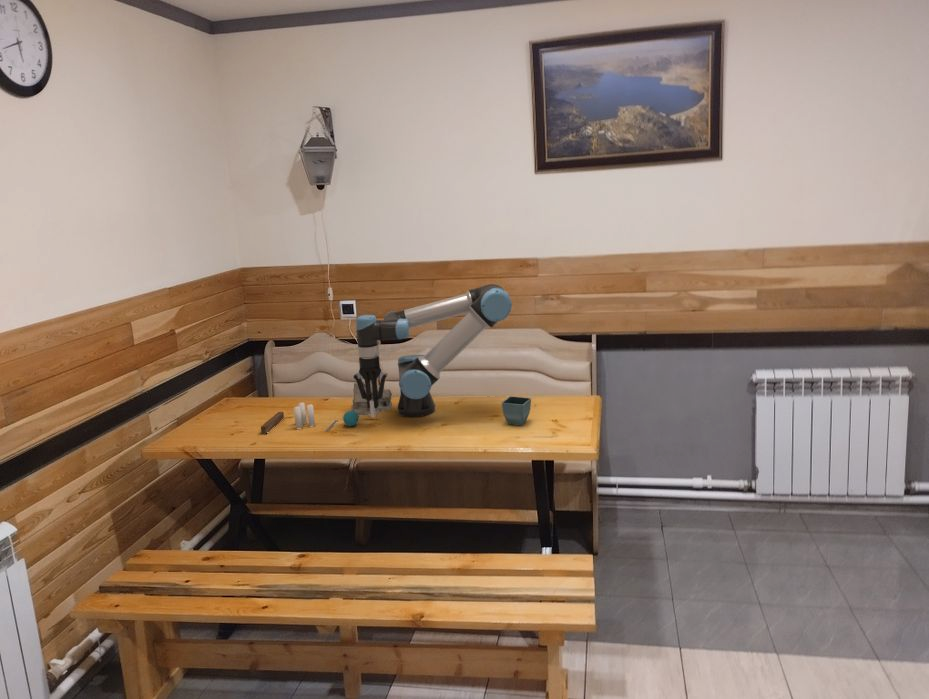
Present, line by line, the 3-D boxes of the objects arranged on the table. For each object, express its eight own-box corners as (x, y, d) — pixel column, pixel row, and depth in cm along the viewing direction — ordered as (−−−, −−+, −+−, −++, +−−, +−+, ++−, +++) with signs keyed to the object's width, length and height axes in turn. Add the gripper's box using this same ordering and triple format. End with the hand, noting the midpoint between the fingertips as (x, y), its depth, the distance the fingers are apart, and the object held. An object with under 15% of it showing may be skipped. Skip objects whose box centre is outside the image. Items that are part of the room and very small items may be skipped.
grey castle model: (345, 415, 313) (345, 379, 310) (361, 404, 329) (361, 369, 326) (382, 418, 309) (381, 382, 306) (396, 407, 325) (396, 372, 321)
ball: (361, 423, 302) (359, 408, 301) (356, 428, 297) (355, 413, 295) (346, 423, 303) (345, 408, 302) (341, 428, 298) (340, 413, 296)
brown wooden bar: (284, 418, 314) (283, 411, 313) (266, 434, 296) (265, 426, 296) (279, 418, 314) (278, 411, 313) (261, 434, 297) (260, 426, 296)
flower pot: (532, 420, 294) (531, 397, 291) (524, 428, 286) (523, 404, 284) (510, 418, 297) (509, 396, 295) (502, 425, 290) (501, 402, 287)
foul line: (338, 420, 307) (338, 420, 307) (328, 431, 295) (328, 430, 295) (335, 420, 307) (335, 420, 307) (325, 431, 296) (325, 430, 296)
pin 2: (307, 422, 307) (305, 402, 305) (305, 425, 304) (303, 404, 302) (302, 423, 307) (299, 402, 305) (299, 425, 305) (297, 404, 303)
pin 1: (303, 427, 302) (300, 406, 300) (301, 429, 300) (298, 408, 298) (297, 427, 302) (295, 406, 300) (295, 429, 300) (292, 408, 298)
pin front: (316, 425, 304) (313, 404, 302) (313, 427, 301) (311, 406, 299) (310, 425, 304) (307, 404, 302) (308, 427, 302) (305, 406, 300)
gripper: (388, 353, 295) (392, 413, 300) (355, 354, 297) (360, 413, 302) (383, 358, 287) (387, 419, 293) (349, 359, 289) (354, 419, 295)
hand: (373, 416), depth 298 cm, fingers closed
